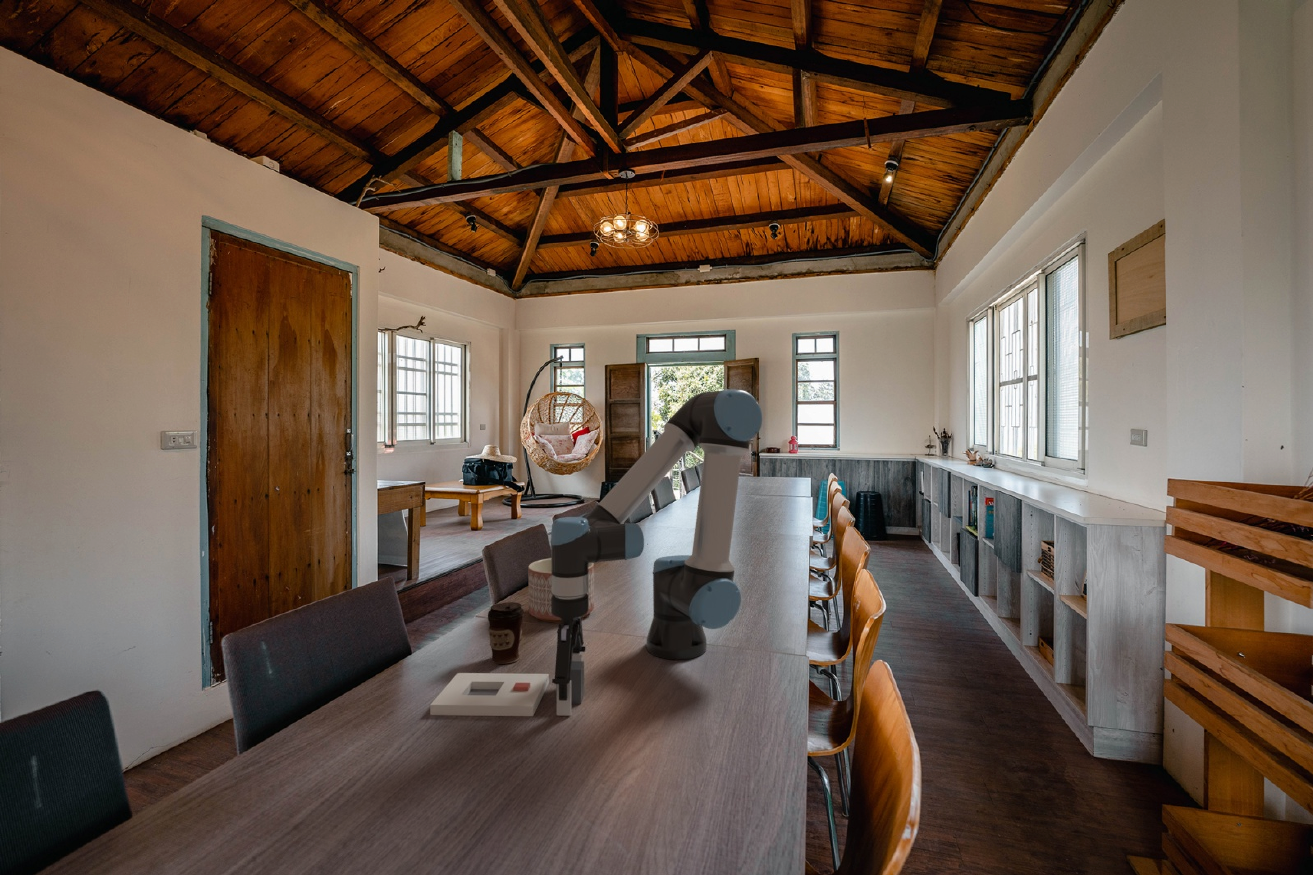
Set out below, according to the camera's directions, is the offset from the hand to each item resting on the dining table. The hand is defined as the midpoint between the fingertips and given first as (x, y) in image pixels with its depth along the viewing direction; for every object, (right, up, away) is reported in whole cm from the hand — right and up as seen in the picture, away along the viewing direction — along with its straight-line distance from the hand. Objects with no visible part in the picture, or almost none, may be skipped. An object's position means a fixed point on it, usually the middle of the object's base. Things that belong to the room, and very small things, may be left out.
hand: (570, 698), depth 115 cm
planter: (-11, +1, +52) cm, 53 cm away
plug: (0, 0, 0) cm, 0 cm away
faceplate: (-16, 0, 0) cm, 16 cm away
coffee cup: (-18, 0, +20) cm, 27 cm away
